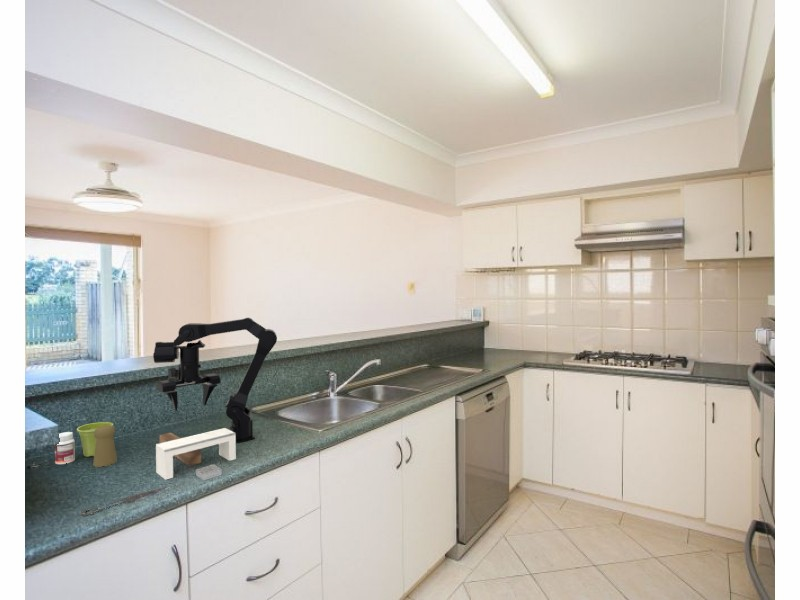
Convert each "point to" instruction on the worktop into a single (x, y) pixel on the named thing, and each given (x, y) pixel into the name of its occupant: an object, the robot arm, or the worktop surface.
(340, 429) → the worktop surface
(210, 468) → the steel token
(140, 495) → the throwing knife
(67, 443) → the pill bottle
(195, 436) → the white bridge block
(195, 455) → the walnut bar
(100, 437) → the cork
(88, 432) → the plant pot
